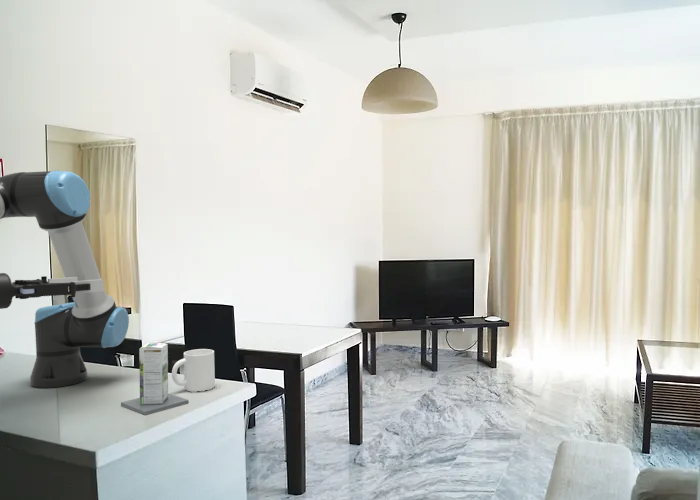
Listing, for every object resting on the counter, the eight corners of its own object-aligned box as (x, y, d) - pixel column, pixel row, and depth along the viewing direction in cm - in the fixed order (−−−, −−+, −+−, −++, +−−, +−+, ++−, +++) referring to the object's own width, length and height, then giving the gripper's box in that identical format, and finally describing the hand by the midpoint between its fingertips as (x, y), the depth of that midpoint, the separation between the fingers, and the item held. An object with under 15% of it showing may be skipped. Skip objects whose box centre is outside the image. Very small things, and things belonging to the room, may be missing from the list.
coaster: (120, 405, 142) (120, 402, 142) (163, 394, 151) (163, 391, 151) (145, 415, 134) (144, 411, 134) (188, 403, 143) (188, 399, 143)
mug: (177, 396, 149) (176, 358, 149) (167, 390, 156) (166, 353, 155) (219, 388, 156) (218, 352, 156) (208, 382, 163) (207, 347, 163)
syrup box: (146, 398, 145) (144, 343, 145) (169, 397, 146) (167, 342, 145) (139, 405, 140) (138, 347, 139) (163, 404, 140) (162, 346, 140)
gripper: (6, 276, 108) (114, 269, 124) (-33, 272, 124) (66, 266, 140) (8, 315, 108) (115, 303, 124) (-32, 305, 124) (67, 296, 140)
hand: (89, 283), depth 132 cm, fingers open, 13 cm apart
